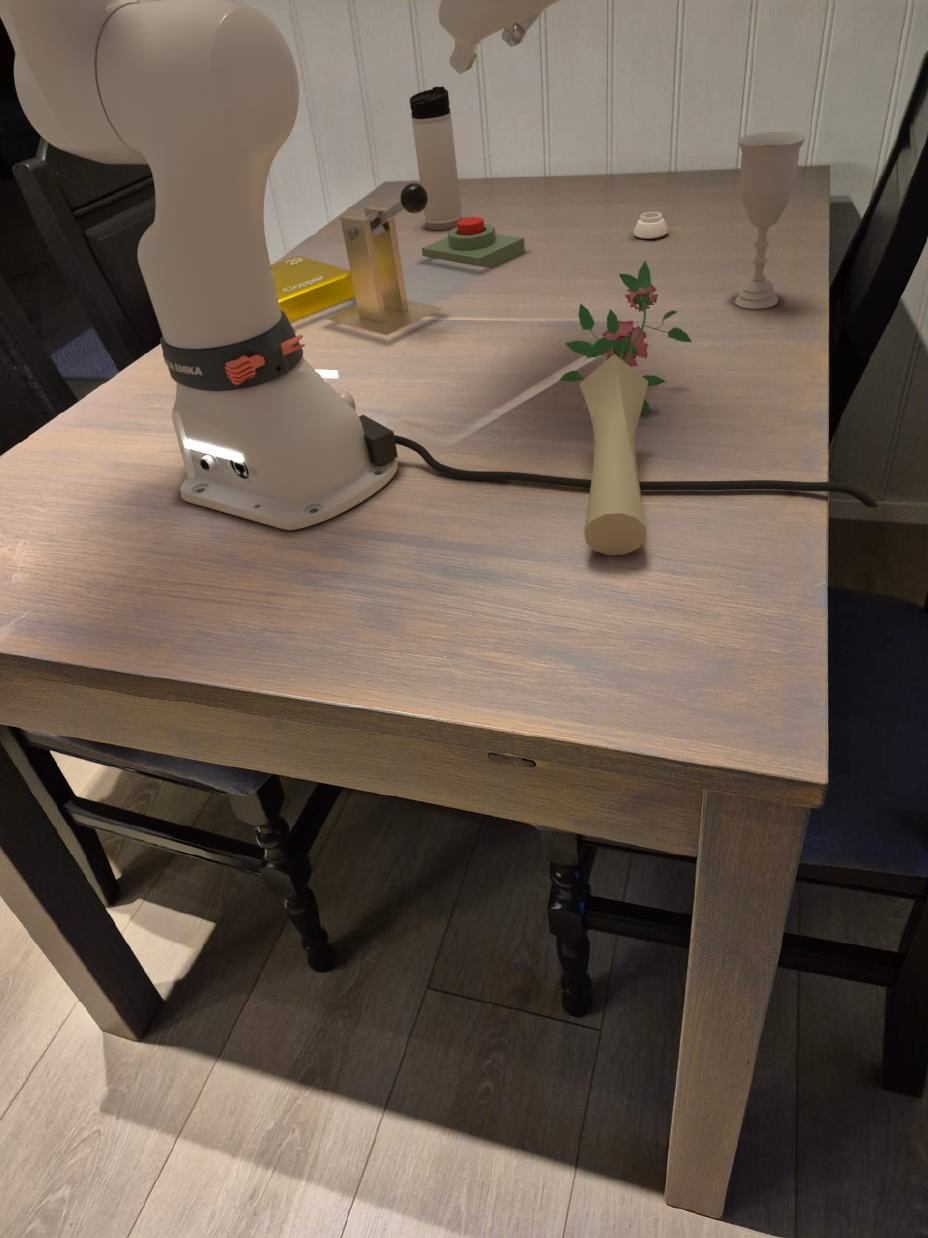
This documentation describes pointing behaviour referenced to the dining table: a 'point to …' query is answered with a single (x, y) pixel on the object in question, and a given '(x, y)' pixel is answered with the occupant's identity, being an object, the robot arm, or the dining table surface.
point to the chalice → (766, 199)
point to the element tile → (310, 286)
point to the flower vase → (617, 420)
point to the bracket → (377, 278)
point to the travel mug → (436, 157)
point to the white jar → (650, 226)
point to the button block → (476, 248)
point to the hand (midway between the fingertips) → (485, 53)
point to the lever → (400, 207)
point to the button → (470, 226)
